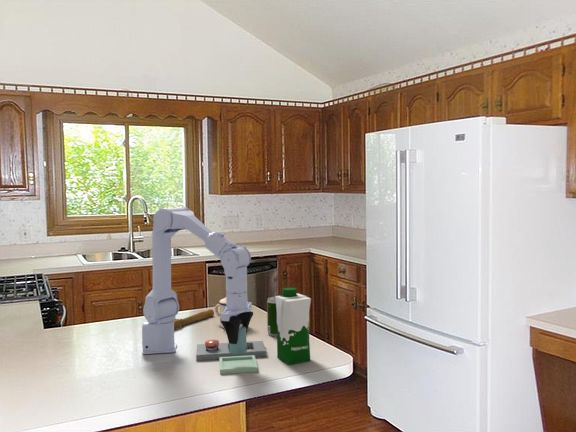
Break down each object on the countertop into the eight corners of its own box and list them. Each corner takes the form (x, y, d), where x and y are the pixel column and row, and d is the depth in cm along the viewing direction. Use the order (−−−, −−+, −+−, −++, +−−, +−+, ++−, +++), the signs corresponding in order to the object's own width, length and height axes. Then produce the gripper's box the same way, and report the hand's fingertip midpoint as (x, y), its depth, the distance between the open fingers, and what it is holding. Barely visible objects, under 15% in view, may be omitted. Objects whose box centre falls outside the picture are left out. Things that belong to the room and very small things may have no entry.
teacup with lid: (250, 324, 186) (249, 292, 185) (235, 330, 178) (234, 297, 177) (223, 320, 192) (222, 289, 191) (207, 326, 184) (206, 293, 183)
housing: (196, 360, 148) (196, 355, 148) (197, 349, 158) (197, 344, 158) (266, 356, 151) (266, 350, 151) (262, 345, 161) (262, 340, 161)
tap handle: (214, 309, 198) (156, 327, 173) (214, 317, 198) (156, 336, 173) (208, 308, 200) (149, 326, 174) (208, 316, 200) (150, 335, 175)
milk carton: (299, 352, 154) (298, 285, 153) (315, 361, 146) (314, 291, 145) (273, 357, 150) (272, 288, 149) (287, 366, 142) (286, 294, 141)
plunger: (205, 355, 151) (205, 344, 151) (205, 351, 155) (205, 340, 155) (219, 354, 152) (218, 343, 152) (218, 350, 156) (218, 339, 156)
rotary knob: (240, 354, 139) (239, 329, 139) (225, 352, 142) (224, 327, 141) (250, 349, 144) (249, 324, 143) (235, 347, 146) (234, 322, 145)
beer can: (273, 337, 170) (272, 301, 169) (264, 333, 174) (264, 298, 174) (286, 334, 173) (286, 298, 172) (278, 330, 177) (277, 296, 176)
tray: (220, 374, 137) (219, 369, 137) (219, 361, 147) (219, 357, 147) (257, 371, 139) (257, 367, 138) (254, 359, 148) (254, 355, 148)
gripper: (237, 298, 133) (238, 350, 134) (261, 287, 147) (261, 334, 148) (213, 296, 136) (214, 347, 137) (238, 286, 149) (239, 332, 150)
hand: (237, 340), depth 142 cm, fingers closed on rotary knob, 5 cm apart
